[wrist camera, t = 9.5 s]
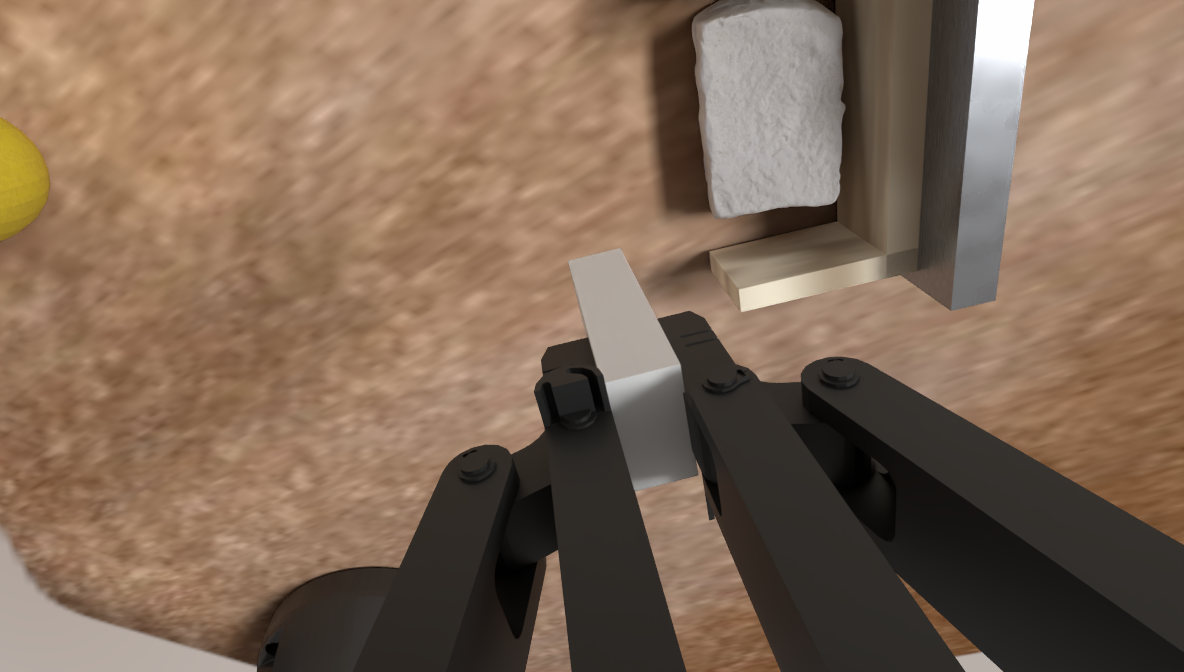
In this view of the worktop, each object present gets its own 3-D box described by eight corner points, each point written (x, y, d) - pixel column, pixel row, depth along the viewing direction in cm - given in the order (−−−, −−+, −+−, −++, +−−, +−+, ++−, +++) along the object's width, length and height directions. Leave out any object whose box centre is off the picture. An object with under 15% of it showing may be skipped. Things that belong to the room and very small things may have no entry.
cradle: (711, 271, 34) (741, 312, 29) (675, -31, 27) (707, -38, 22) (864, 235, 34) (917, 270, 29) (868, -77, 27) (938, -92, 22)
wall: (861, 247, 34) (950, 310, 27) (865, -98, 27) (991, -134, 20) (897, 239, 34) (995, 300, 27) (910, -109, 27) (1053, -148, 20)
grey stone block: (692, 17, 31) (684, -21, 26) (825, -8, 30) (848, -54, 24) (708, 219, 33) (704, 224, 28) (834, 205, 32) (857, 207, 26)
